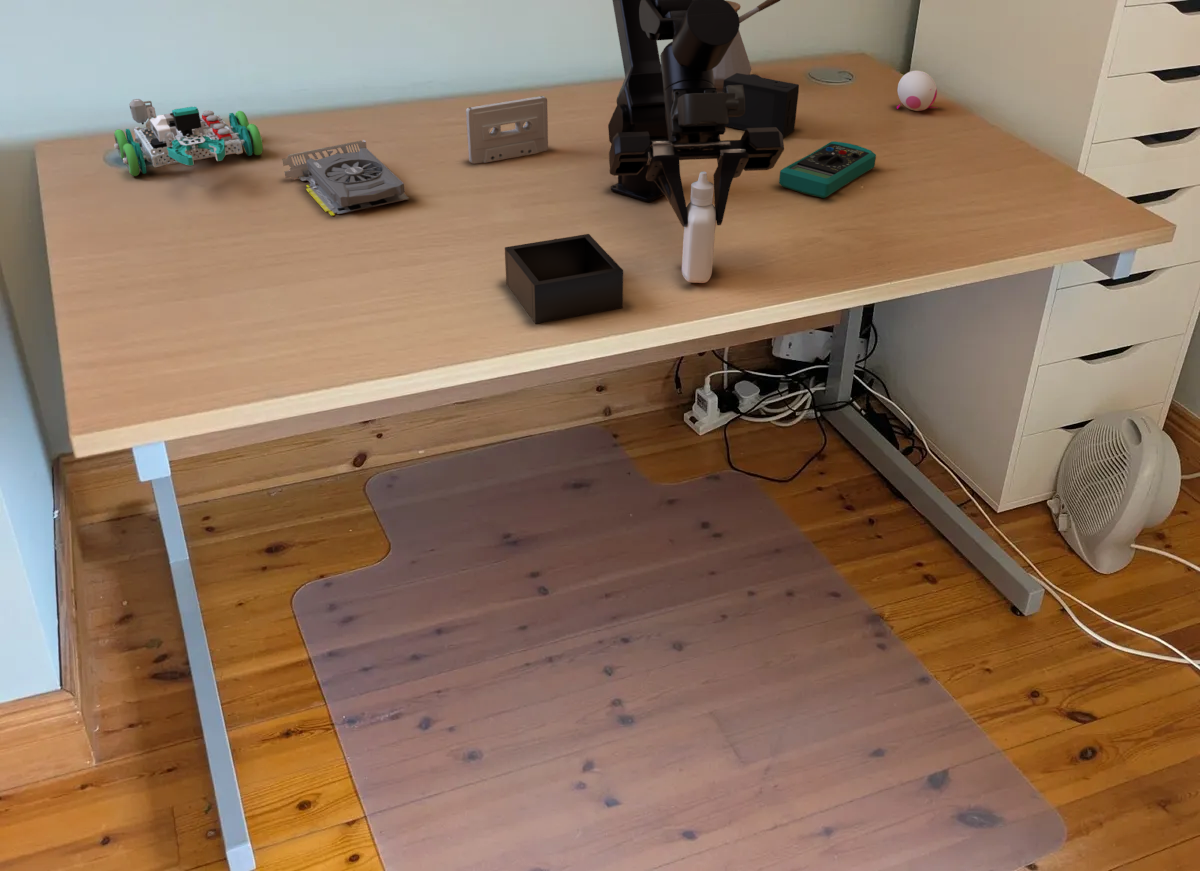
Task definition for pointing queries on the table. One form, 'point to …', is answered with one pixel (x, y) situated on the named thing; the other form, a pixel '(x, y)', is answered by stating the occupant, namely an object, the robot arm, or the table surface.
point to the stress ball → (917, 91)
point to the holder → (563, 278)
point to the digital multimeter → (827, 169)
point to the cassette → (510, 141)
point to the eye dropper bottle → (699, 232)
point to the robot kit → (184, 137)
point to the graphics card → (346, 179)
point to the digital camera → (765, 103)
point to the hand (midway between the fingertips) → (702, 224)
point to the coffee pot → (736, 51)
